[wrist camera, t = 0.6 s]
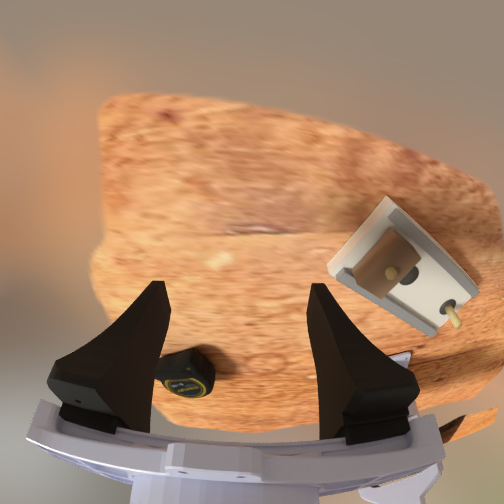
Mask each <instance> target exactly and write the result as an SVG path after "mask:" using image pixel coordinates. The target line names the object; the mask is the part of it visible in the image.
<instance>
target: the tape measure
mask: <svg viewBox="0 0 504 504" xmlns="http://www.w3.org/2000/svg"><path fill="white" fill-rule="evenodd" d="M155 379H156V380H159V381H161V382H162V384H163V385H164V387H165V388H166V389H168V390H169V391H170V392H172V393H174V394H176V395H179V396H182V397H186V398H200V397H204V396H206V395H208V394H210V393H211V391H212V389H213V386H214V382H215V369H214V366H213V365H212V363H211V362H210V361H208V360H207V359H206V358H204V357H202V356H201V355H200V354H199V353H198V352H197V351H195V350H187V351H183V352H181V353H178V354H174V355H171V356H166V357H161V358H159V361H158V364H157V369H156V374H155Z"/></svg>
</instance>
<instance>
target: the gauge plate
mask: <svg viewBox="0 0 504 504" xmlns="http://www.w3.org/2000/svg"><path fill="white" fill-rule="evenodd" d="M389 227H391V228H392V229H393V230H395V231H396V232H397V233H398V234H399V235H401V236H402V237H403V238H404V239H405V240H407V241H408V242H409V243H410V244H411V245H412V246H413V247H414V248H415V250H416V251H417V253H418V254H419V255H420V257H421V258H422V259H421V260H420V261H419V262H418V263H417V264H416V265H415V266H414V267H413V268H412V269H411V271H410V272H409V273H408V274H407V275H406V276H405V277H404V278H403V279H402V280H401V281H400V282H399V283H398V284H397V285H396V286H395V287H394V288H393V289H392V290H391V291H390V292H389V293H388V294H387V295H386V296H385V297H384V298H382V299H380V298H378V297H376V296H375V295H373V294H372V293H370V292H368V291H367V290H365V289H363V288H362V287H360V286H359V285H357V283H356V280H355V278H354V275H353V272H352V270H351V269H352V268H353V267H354V266H355V265H356V264H357V263H358V262H359V261H360V260H361V259H362V258H363V256H364V255H365V254H366V253H367V252H368V251H369V250H370V249H371V248H372V247H373V245H374V244H375V243H376V242H377V241H378V240H379V239H380V238H381V236H382V235H383V234H384V233H385V232H386V231H387V230H388V228H389ZM327 267H328V271H329V274H330V275H331V276H333V277H335V278H336V279H337V281H339V282H340V283H342V284H344V285H345V286H347V287H349V288H350V289H352V290H354V291H355V292H357V293H359V294H360V295H362V296H364V297H365V298H367V299H369V300H370V301H372V302H374V303H375V304H377V305H379V306H380V307H382V308H384V309H385V310H387V311H389V312H390V313H392V314H393V315H395V316H397V317H398V318H400V319H402V320H403V321H405V322H407V323H408V324H410V325H411V326H413V327H415V328H416V329H418V330H420V331H421V332H423V333H424V334H426V335H428V336H429V337H431V338H432V337H433V336H434V335H435V334H436V333H438V332H437V329H438V328H440V327H441V326H442V325H443V324H444V323H445V322H446V321H447V320H448V319H449V318H450V320H451V322H452V324H453V325H454V327H455V329H458V328H459V327H461V325H462V323H461V321H460V319H459V317H458V316H457V314H456V312H457V311H458V310H459V309H460V308H461V307H462V306H463V305H464V304H465V303H466V302H467V301H468V300H469V299H470V298H471V297H472V298H473V299H474V298H475V297H476V295H477V294H478V293H479V291H478V290H479V287H478V286H477V285H476V283H475V282H474V281H473V279H472V278H471V277H470V276H469V275H468V274H467V273H466V272H465V270H464V269H463V268H462V267H461V266H460V265H459V264H458V263H457V262H456V261H455V260H454V259H453V258H452V257H451V255H450V254H449V253H448V252H447V251H446V250H445V249H444V248H443V247H442V246H441V245H440V244H439V243H438V242H437V241H436V240H435V239H434V238H433V237H432V236H431V235H430V234H429V233H428V232H427V231H426V230H424V229H423V228H422V227H421V226H420V225H419V224H418V223H417V222H416V221H415V220H414V219H413V218H412V217H411V216H409V215H408V214H407V213H406V212H405V211H404V210H403V209H402V208H401V207H399V206H398V205H397V204H396V203H395V202H394V201H393V200H391V199H390V198H389V197H388V196H387V195H386V196H385V197H384V199H383V200H382V201H381V202H380V203H379V205H378V206H377V207H376V208H375V209H374V211H373V212H372V213H371V214H370V215H369V217H368V218H367V219H366V220H365V221H364V222H363V224H362V225H361V226H360V227H359V228H358V230H357V231H356V232H355V233H354V234H353V235H352V236H351V238H350V239H349V240H348V241H347V242H346V243H345V244H344V246H343V247H342V248H341V249H340V250H339V251H338V252H337V254H336V255H335V256H334V257H333V258H332V259H331V260H330V261H329V262H328V264H327Z"/></svg>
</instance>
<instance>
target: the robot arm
mask: <svg viewBox="0 0 504 504" xmlns="http://www.w3.org/2000/svg"><path fill="white" fill-rule="evenodd" d="M306 314H307V326H308V333H309V338H310V343H311V348H312V353H313V357H314V362H315V367H316V373H317V384H318V398H319V424H320V440H315V441H301V442H280V443H240V442H239V443H238V442H218V441H205V440H193V439H185V438H177V437H169V436H161V435H156V434H150V417H151V404H152V395H153V387H154V380H155V374H156V369H157V364H158V361H159V357H160V354H161V351H162V347H163V344H164V341H165V337H166V334H167V330H168V326H169V321H170V315H171V307H170V303H169V299H168V295H167V291H166V287H165V282H164V281H152V282H151V283H150V284H149V285H148V286H147V287H146V289H145V290H144V291H143V292H142V293H141V294H140V296H139V297H138V298H137V299H136V300H135V301H134V302H133V303H132V304H131V306H130V307H129V308H128V309H127V310H126V311H125V312H124V313H123V314H122V315H121V316H120V317H119V318H118V319H117V320H116V321H115V322H114V323H113V324H112V325H111V326H109V327H108V328H107V329H106V330H105V331H104V332H102V333H101V334H100V335H98V336H97V337H96V338H94V339H93V340H91V341H90V342H89V343H87V344H86V345H84V346H82V347H81V348H79V349H77V350H76V351H74V352H72V353H70V354H69V355H66V356H64V357H62V358H61V359H58V360H56V361H55V364H54V366H53V368H52V370H51V372H50V375H49V377H48V379H47V384H48V387H49V388H50V389H51V391H52V392H53V393H54V394H55V395H56V396H57V397H58V398H59V399H60V400H61V401H62V402H63V404H62V407H60V406H58V405H56V404H53V403H51V402H48V401H45V400H42V399H40V400H39V402H38V404H37V407H36V410H35V412H34V415H33V418H32V421H31V423H30V426H29V429H28V432H27V436H26V439H27V440H28V441H30V442H31V443H33V444H34V445H36V446H37V447H39V448H40V449H42V450H43V451H45V452H46V453H48V454H49V455H51V456H53V457H55V458H58V459H60V460H63V461H65V462H68V463H70V464H72V465H75V466H77V467H80V468H83V469H86V470H88V471H91V472H93V473H96V474H99V475H102V476H105V477H108V478H111V479H114V480H117V481H121V482H124V483H127V484H131V485H133V486H132V492H131V499H130V504H319V497H320V496H326V495H333V494H338V493H343V492H348V491H353V490H357V489H358V490H359V494H360V496H361V498H363V499H364V500H366V501H368V502H371V503H374V504H425V497H424V496H425V495H426V493H427V492H428V491H429V490H430V489H431V487H432V486H433V485H434V484H435V483H436V482H437V480H438V479H439V478H440V476H441V474H442V470H443V465H442V460H443V459H444V458H445V457H446V455H445V451H444V447H443V443H442V439H441V436H440V432H439V429H438V425H437V422H436V418H435V415H434V414H430V415H426V416H423V417H420V416H419V413H418V409H417V406H416V402H415V399H416V398H417V396H418V395H419V392H420V389H419V386H418V383H417V380H416V378H415V376H414V374H413V372H411V371H410V370H408V369H407V367H408V364H409V361H410V357H411V353H410V352H404V353H401V354H397V355H392V356H387V355H385V354H384V353H383V352H382V351H381V350H379V349H378V348H377V347H376V346H375V345H373V344H372V343H371V342H370V341H369V340H368V339H367V338H366V337H365V336H364V335H363V334H362V333H361V332H360V331H359V330H358V328H357V327H356V326H355V325H354V324H353V323H352V321H351V320H350V319H349V318H348V316H347V315H346V314H345V312H344V311H343V310H342V308H341V307H340V306H339V304H338V303H337V302H336V300H335V299H334V297H333V296H332V294H331V293H330V291H329V290H328V288H327V286H326V285H325V284H324V283H312V285H311V290H310V296H309V301H308V307H307V312H306ZM423 470H424V471H423ZM421 471H423V472H421ZM419 472H421V473H419ZM416 473H419V474H418V475H415V476H412V477H410V478H407V479H404V480H401V481H398V482H395V483H392V484H389V485H386V486H382V487H380V486H378V485H379V484H383V483H386V482H389V481H393V480H396V479H400V478H403V477H406V476H410V475H413V474H416Z"/></svg>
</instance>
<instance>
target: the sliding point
mask: <svg viewBox="0 0 504 504" xmlns="http://www.w3.org/2000/svg"><path fill="white" fill-rule="evenodd" d="M421 259H422V258H421V257H420V255H419V254H418V253H417V251H416V250H415V248H414V247H413V246H412V245H411V244H410V243H409V242H408V241H407V240H405V239H404V238H403V237H402V236H401V235H399V234H398V233H397V232H396V231H395V230H393V229H392V228H391V227H389V228H388V230H387V231H386V232H385V233H384V234H383V235H382V236H381V238H380V239H379V240H378V241H377V242H376V243H375V244H374V245H373V247H372V248H371V249H370V250H369V251H368V252H367V253H366V254H365V255H364V256H363V258H362V259H361V260H360V261H359V262H358V263H357V264H356V265H355V266H354V267H353V268H352V269H351V270H352V272H353V275H354V278H355V280H356V283H357V285H359V286H360V287H362V288H363V289H365V290H367V291H368V292H370V293H372V294H373V295H375V296H376V297H378V298H380V299H382V298H384V297H385V296H386V295H387V294H388V293H389V292H390V291H391V290H392V289H393V288H394V287H395V286H396V285H397V284H398V283H399V282H400V281H401V280H402V279H403V278H404V277H405V276H406V275H407V274H408V273H409V272H410V271H411V269H412V268H413V267H414V266H415V265H416V264H417V263H418V262H419V261H420V260H421Z"/></svg>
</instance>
